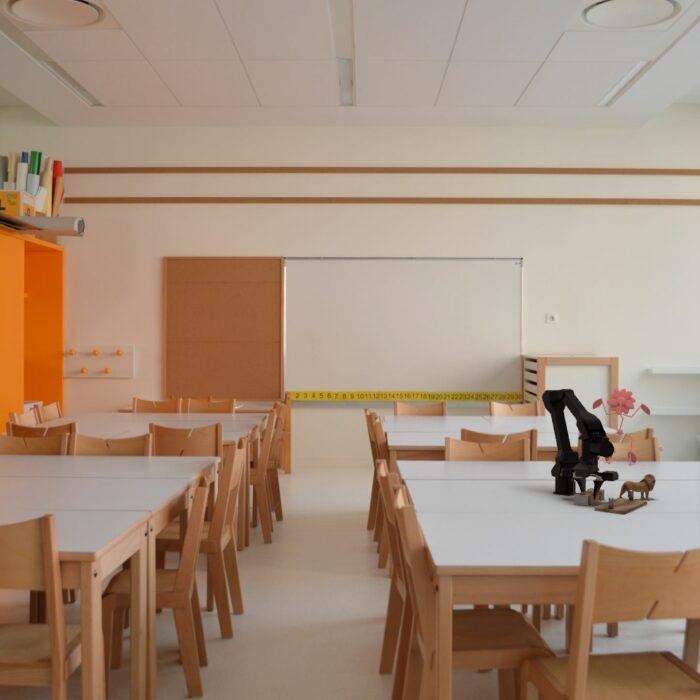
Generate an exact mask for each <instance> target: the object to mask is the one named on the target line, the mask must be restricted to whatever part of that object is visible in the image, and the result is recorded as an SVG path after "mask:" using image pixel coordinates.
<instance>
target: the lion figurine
mask: <svg viewBox="0 0 700 700" xmlns="http://www.w3.org/2000/svg"><path fill="white" fill-rule="evenodd" d="M655 485H656V476H655V475H653V474H652V473H647V474H645V475H644V476H643V478H642V479H641V480H640V481H632V480H626V481H624V482H623V483H622V485H621V487H620V492H619V496H618V498H624V497H623V495H624V494H625V493H627V499H629V490H634V492H635V493H640V499H641V500H645V501H647V502H649V501H650V500H651V499H650V498H649V495H650V492H652V491H653V490H654V488H655ZM644 493H645V497H644Z"/></svg>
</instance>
